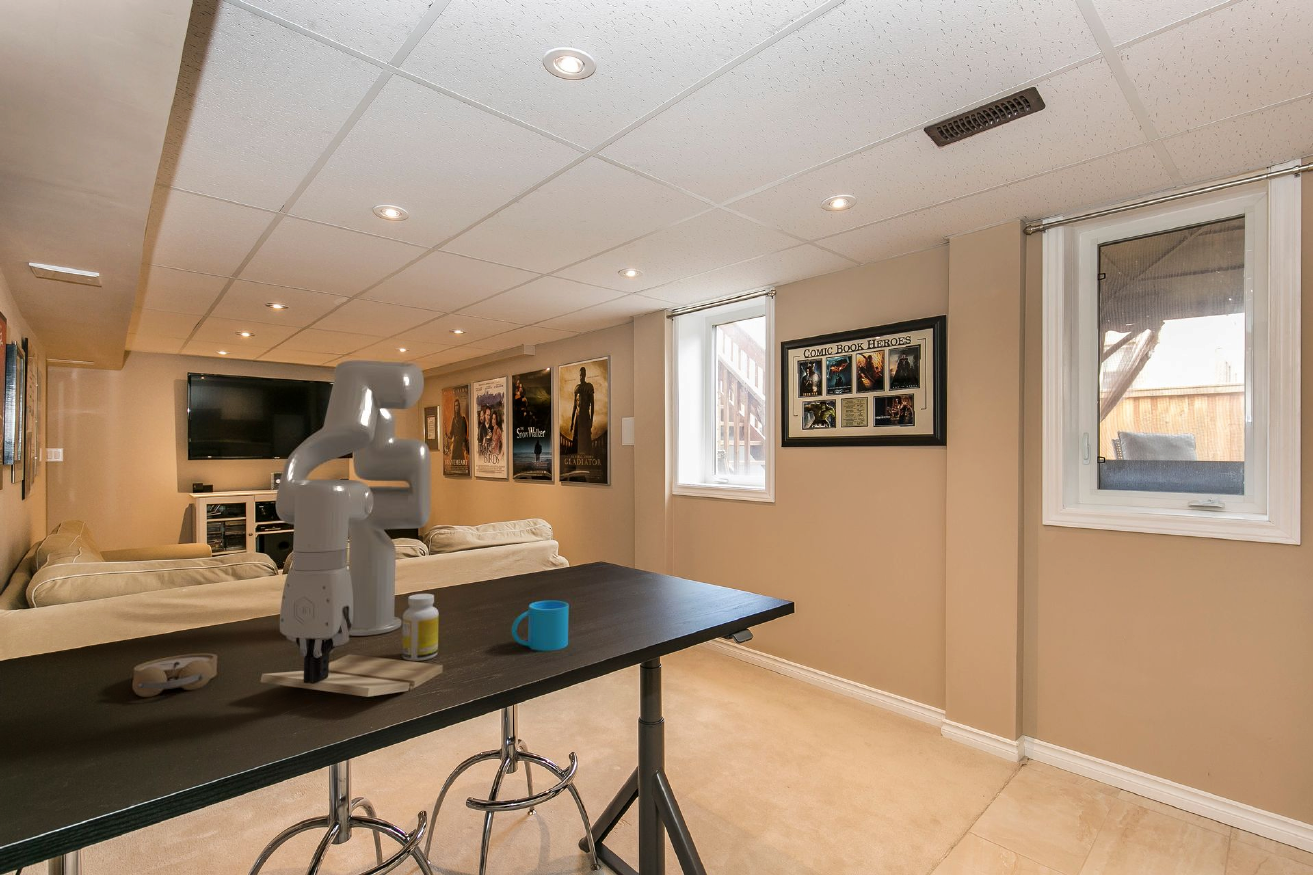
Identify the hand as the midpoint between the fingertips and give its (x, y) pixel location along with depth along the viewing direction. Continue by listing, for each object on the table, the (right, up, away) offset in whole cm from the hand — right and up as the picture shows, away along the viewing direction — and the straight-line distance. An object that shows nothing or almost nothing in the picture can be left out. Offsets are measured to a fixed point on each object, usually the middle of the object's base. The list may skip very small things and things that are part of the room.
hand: (316, 680), depth 95 cm
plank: (+1, -3, +4) cm, 5 cm away
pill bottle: (+7, -5, +24) cm, 25 cm away
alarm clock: (-28, -4, +8) cm, 29 cm away
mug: (+29, -6, +31) cm, 43 cm away
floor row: (+4, -4, +14) cm, 15 cm away
